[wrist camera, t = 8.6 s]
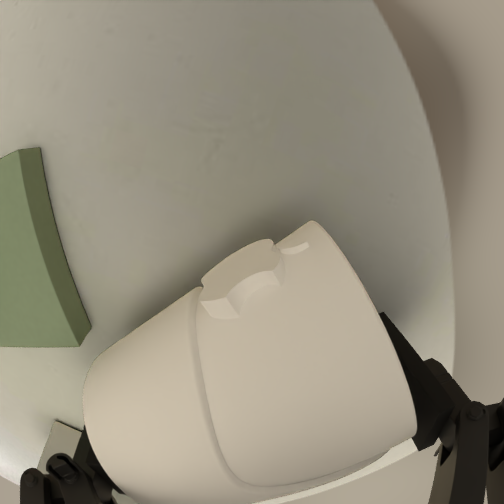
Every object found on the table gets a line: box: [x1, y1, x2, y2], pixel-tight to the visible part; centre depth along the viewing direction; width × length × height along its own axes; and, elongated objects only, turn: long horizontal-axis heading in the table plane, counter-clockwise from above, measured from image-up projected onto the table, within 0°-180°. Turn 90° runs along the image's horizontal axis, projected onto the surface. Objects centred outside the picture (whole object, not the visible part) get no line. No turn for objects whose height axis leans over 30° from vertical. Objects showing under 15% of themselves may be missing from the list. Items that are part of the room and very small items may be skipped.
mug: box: [83, 220, 417, 504], centre depth 10 cm, size 12×9×8 cm
